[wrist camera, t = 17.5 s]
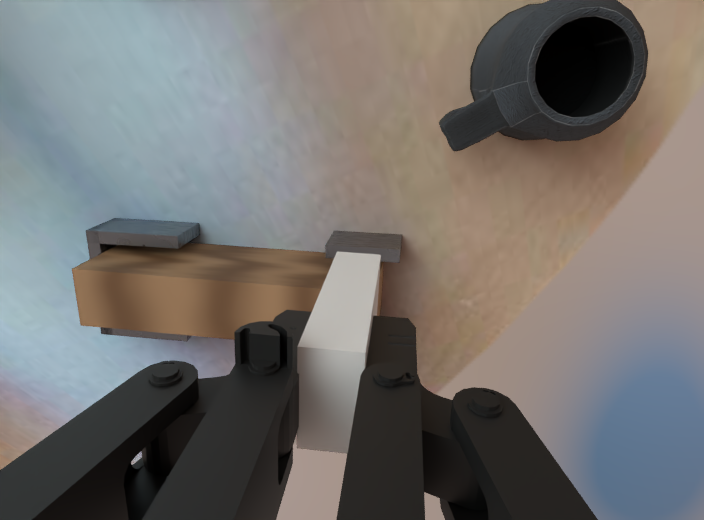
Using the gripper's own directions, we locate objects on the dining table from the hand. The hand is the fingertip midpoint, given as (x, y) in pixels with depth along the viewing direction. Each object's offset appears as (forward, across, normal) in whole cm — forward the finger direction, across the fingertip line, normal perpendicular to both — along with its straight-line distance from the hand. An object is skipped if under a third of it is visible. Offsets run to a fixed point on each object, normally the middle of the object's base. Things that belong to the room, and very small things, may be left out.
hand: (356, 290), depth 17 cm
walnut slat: (+24, -11, -9) cm, 27 cm away
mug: (+23, +9, +7) cm, 26 cm away
